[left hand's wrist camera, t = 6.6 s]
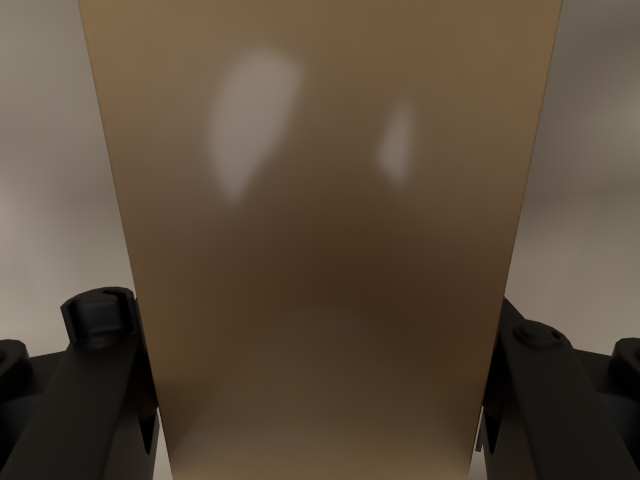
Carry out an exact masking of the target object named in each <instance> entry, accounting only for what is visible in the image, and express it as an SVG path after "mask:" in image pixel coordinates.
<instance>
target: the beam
mask: <svg viewBox="0 0 640 480" xmlns="http://www.w3.org/2000/svg"><path fill="white" fill-rule="evenodd" d="M562 1H563V0H78V3H79V8H80V13H81V18H82V23H83V28H84V33H85V38H86V43H87V48H88V53H89V59H90V64H91V69H92V74H93V79H94V84H95V89H96V94H97V99H98V104H99V109H100V114H101V119H102V124H103V129H104V134H105V139H106V144H107V149H108V154H109V159H110V164H111V169H112V174H113V179H114V184H115V190H116V195H117V200H118V205H119V210H120V215H121V220H122V225H123V230H124V235H125V240H126V245H127V250H128V255H129V260H130V265H131V270H132V275H133V280H134V285H135V290H136V295H137V300H138V305H139V310H140V316H141V321H142V326H143V331H144V336H145V341H146V346H147V351H148V356H149V361H150V366H151V371H152V376H153V381H154V386H155V391H156V396H157V401H158V406H159V411H160V416H161V421H162V426H163V431H164V436H165V441H166V447H167V452H168V457H169V462H170V467H171V472H172V477H173V480H467V479H468V474H469V469H470V463H471V458H472V453H473V448H474V443H475V438H476V433H477V428H478V423H479V418H480V413H481V408H482V403H483V398H484V393H485V388H486V383H487V378H488V373H489V368H490V363H491V358H492V353H493V348H494V343H495V338H496V333H497V328H498V323H499V318H500V313H501V308H502V303H503V298H504V293H505V288H506V283H507V278H508V273H509V268H510V263H511V257H512V252H513V247H514V242H515V237H516V232H517V227H518V222H519V217H520V212H521V207H522V202H523V197H524V192H525V187H526V182H527V177H528V172H529V167H530V162H531V157H532V152H533V147H534V142H535V137H536V132H537V127H538V122H539V117H540V112H541V107H542V102H543V97H544V92H545V87H546V82H547V77H548V72H549V67H550V62H551V57H552V52H553V46H554V41H555V36H556V31H557V26H558V21H559V16H560V11H561V6H562Z"/></svg>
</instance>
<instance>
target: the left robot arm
mask: <svg viewBox="0 0 640 480" xmlns="http://www.w3.org/2000/svg"><path fill="white" fill-rule="evenodd" d="M60 308H61V312H62V315H63V319H64V322H65V326H66V329H67V333H68V336H69V340H70V344H69V346H68V347H67V349H66V351H62V352H57V353H52V354H46V355H41V356H36V357H30V358H29V355H28V352H27V349H26V346H25V344H24V343H22V342H21V341H19V340H11V339H6V340H0V480H153V472H154V465H155V457H156V449H157V442H158V434H159V426H160V425H159V418H158V413H157V408H158V401H157V396H156V391H155V386H154V381H153V376H152V371H151V366H150V361H149V356H148V351H147V346H146V341H145V336H144V331H143V326H142V321H141V316H140V310H139V305H138V300H137V297H136V300H135V299H134V294H133V292H132V291H131V290H129V289H128V288H123V287H103V288H98V289H93V290H90V291H87V292H84V293H81V294H78V295H76V296H74V297H73V298H71V299H69V300H67V301H66V302H65V303H64V304H63V305H62V306H61V307H60ZM482 405H483V407H484V408H483V413H482V418H481V423H480V428H479V433H478V438H477V443H476V450H475V451H478V452H481V448H482V444H483V448H484V456H485V464H486V471H487V479H488V480H640V338H623V339H621V340H619V341H618V342H616V344H615V347H614V350H613V353H612V356H609V355H603V354H598V353H593V352H587V351H582V350H577V349H573V347H572V345H571V343H570V341H569V340H568V339H567V338H566V337H565V336H564V334H562V333H561V332H559V331H557V330H556V329H554V328H553V327H550V326H548V325H545V324H543V323H540V322H536V321H532V320H527V319H525V318H524V317H523V316H522V315H521V314H520V313H519V312H518V311H517V310H516V308H515V307H514V306H513V305H512V304H511V303H510V302H509V301H508V300H507V299H505V296H504V298H503V303H502V308H501V313H500V318H499V323H498V328H497V333H496V338H495V343H494V348H493V353H492V358H491V363H490V368H489V373H488V378H487V383H486V388H485V393H484V398H483V403H482Z"/></svg>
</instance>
